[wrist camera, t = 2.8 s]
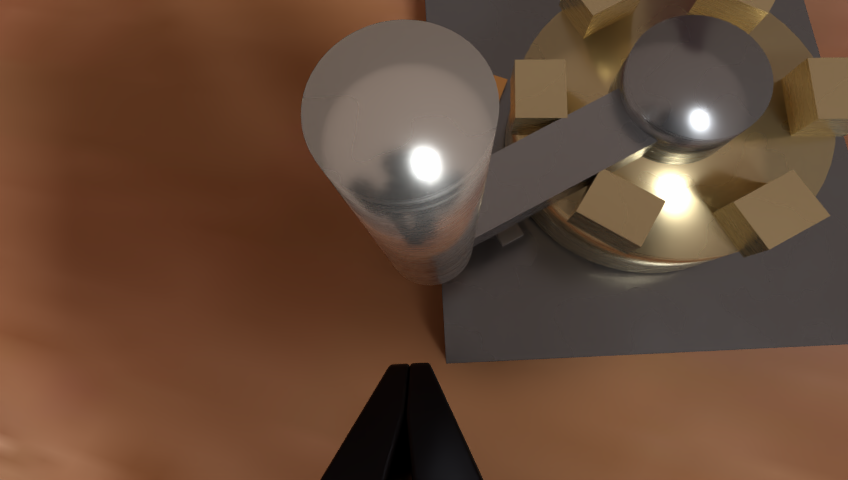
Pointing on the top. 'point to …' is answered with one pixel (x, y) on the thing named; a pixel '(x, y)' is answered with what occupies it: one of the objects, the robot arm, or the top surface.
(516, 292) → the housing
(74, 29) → the top surface
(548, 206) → the crank mechanism
